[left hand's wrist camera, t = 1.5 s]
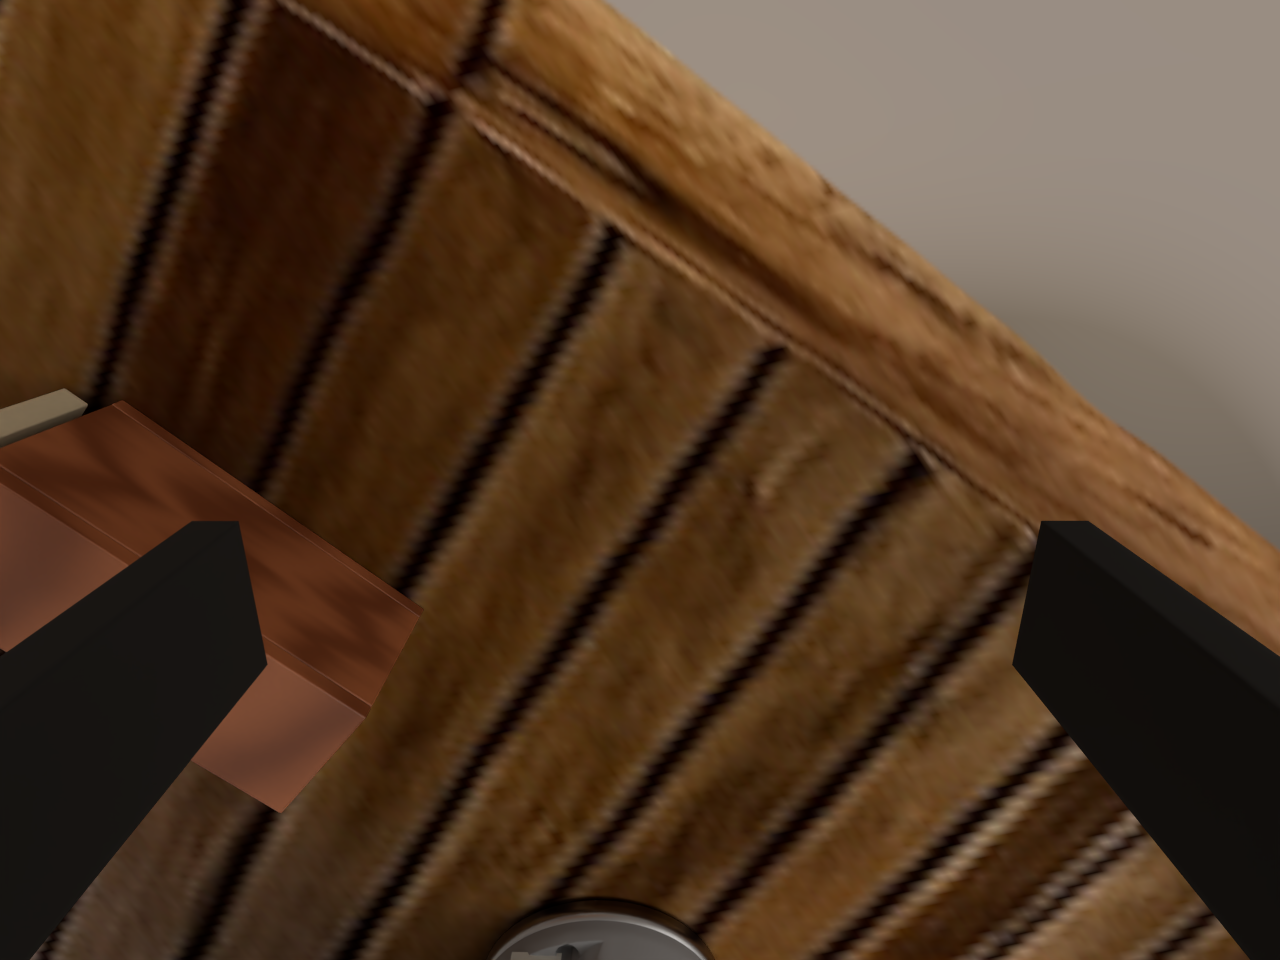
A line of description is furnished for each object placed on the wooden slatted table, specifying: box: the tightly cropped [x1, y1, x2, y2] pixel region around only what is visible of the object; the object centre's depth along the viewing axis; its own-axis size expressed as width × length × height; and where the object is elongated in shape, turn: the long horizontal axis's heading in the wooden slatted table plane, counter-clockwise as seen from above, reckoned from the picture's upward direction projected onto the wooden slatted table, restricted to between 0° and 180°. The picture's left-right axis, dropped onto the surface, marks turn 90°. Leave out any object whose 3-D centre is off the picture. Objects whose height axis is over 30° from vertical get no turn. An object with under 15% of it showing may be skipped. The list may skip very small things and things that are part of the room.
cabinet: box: [0, 400, 424, 813], centre depth 33 cm, size 17×7×9 cm, turn 49°
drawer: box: [0, 389, 88, 448], centre depth 32 cm, size 22×5×7 cm, turn 49°
